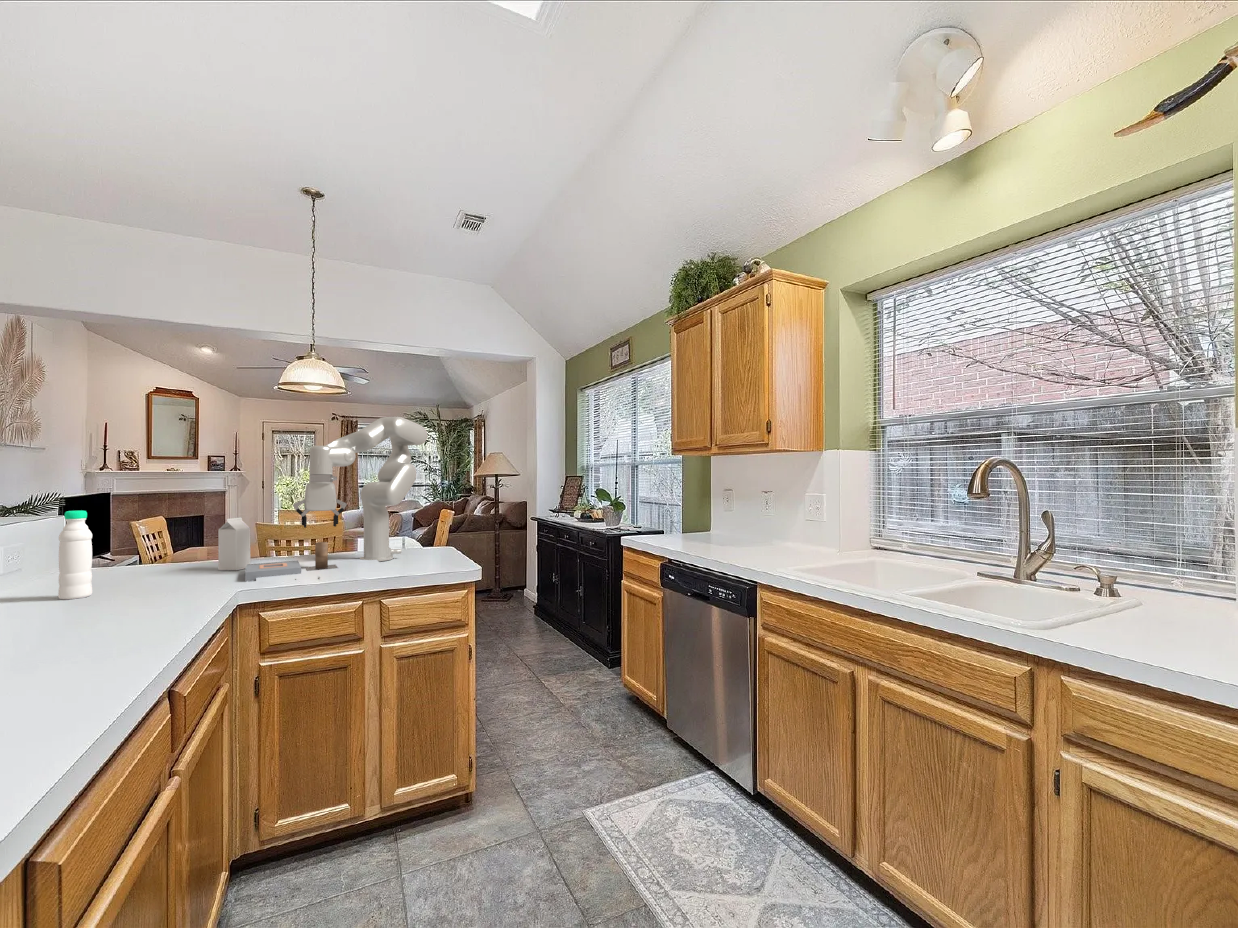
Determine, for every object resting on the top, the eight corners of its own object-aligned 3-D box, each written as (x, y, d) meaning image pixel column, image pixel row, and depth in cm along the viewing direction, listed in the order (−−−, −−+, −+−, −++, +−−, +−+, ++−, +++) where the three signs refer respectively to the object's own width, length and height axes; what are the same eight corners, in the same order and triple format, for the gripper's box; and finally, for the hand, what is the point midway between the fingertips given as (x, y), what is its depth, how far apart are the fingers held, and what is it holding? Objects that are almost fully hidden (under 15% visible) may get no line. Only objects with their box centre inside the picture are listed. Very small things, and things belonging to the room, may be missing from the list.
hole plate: (298, 568, 212) (298, 559, 212) (301, 576, 195) (301, 566, 195) (246, 572, 203) (246, 563, 203) (245, 581, 186) (245, 571, 186)
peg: (327, 566, 210) (327, 541, 210) (328, 567, 206) (328, 542, 206) (314, 567, 207) (314, 542, 208) (315, 568, 204) (315, 543, 204)
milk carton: (250, 567, 215) (250, 517, 215) (236, 570, 208) (236, 518, 208) (233, 567, 216) (233, 517, 216) (218, 570, 209) (218, 518, 209)
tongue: (335, 567, 214) (335, 564, 214) (338, 570, 205) (338, 567, 205) (305, 569, 208) (305, 567, 208) (306, 573, 200) (306, 570, 200)
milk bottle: (97, 595, 166) (98, 510, 167) (68, 600, 160) (68, 511, 160) (82, 594, 169) (82, 509, 169) (52, 599, 162) (52, 511, 162)
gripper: (345, 479, 215) (345, 525, 214) (293, 479, 206) (292, 527, 205) (348, 479, 209) (347, 526, 208) (294, 479, 199) (293, 528, 199)
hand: (320, 526), depth 206 cm, fingers open, 9 cm apart
